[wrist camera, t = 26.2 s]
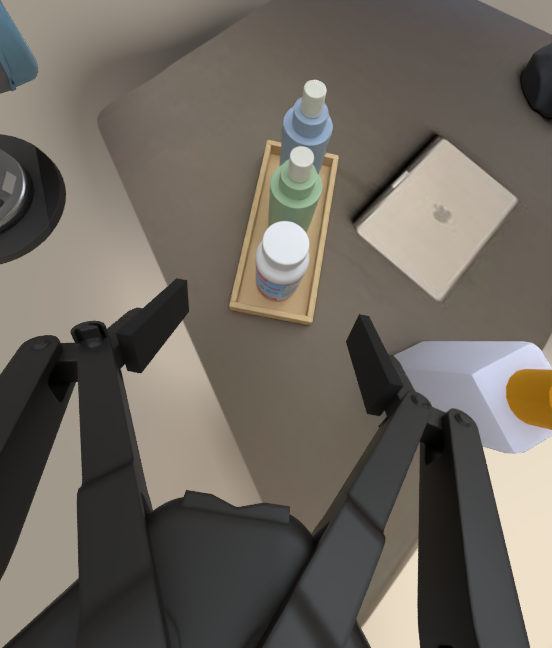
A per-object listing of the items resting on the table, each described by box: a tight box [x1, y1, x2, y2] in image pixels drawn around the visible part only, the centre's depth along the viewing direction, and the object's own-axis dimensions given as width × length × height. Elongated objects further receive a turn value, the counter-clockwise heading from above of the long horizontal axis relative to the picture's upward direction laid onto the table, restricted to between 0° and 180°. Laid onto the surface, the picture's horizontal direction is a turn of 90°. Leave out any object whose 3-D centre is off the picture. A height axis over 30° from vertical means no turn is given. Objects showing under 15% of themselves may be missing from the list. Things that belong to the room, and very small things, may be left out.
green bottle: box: [268, 146, 322, 234], centre depth 28 cm, size 6×6×12 cm
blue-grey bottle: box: [279, 80, 333, 175], centre depth 29 cm, size 6×6×12 cm
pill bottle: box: [255, 221, 309, 301], centre depth 27 cm, size 6×6×11 cm
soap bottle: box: [393, 341, 552, 454], centre depth 21 cm, size 10×14×22 cm
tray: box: [229, 140, 339, 325], centre depth 33 cm, size 28×12×2 cm, turn 169°
